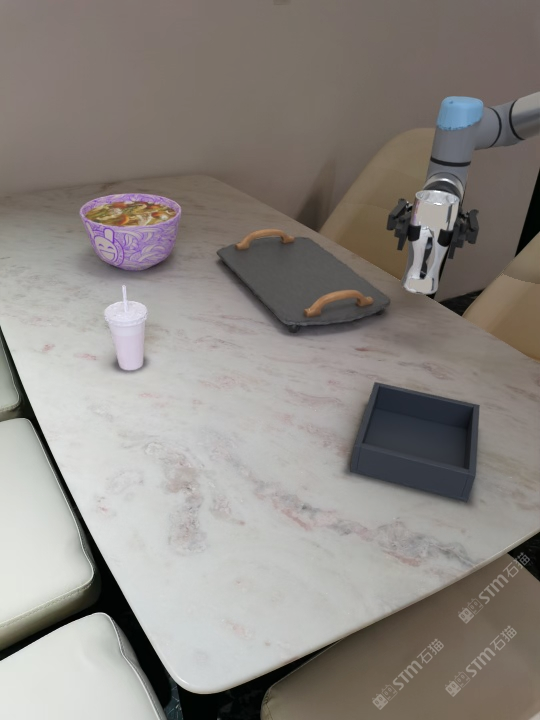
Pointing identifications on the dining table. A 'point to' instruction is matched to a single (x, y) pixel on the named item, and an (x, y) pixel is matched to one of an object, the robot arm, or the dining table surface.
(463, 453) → the slate grey square tray
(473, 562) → the dining table surface
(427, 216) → the beer glass
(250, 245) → the serving tray
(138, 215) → the bowl of food
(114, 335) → the smoothie
